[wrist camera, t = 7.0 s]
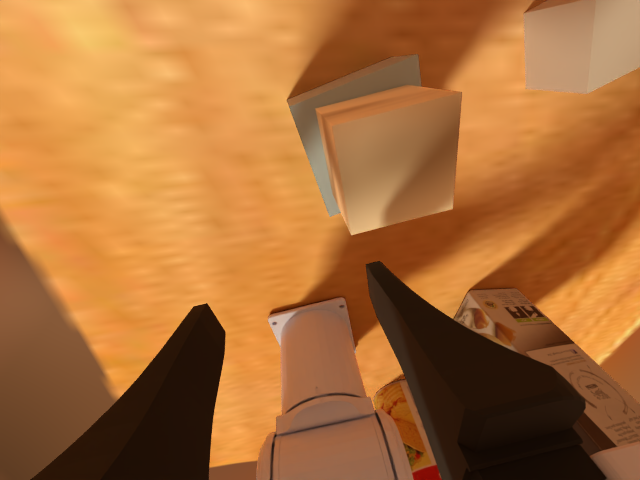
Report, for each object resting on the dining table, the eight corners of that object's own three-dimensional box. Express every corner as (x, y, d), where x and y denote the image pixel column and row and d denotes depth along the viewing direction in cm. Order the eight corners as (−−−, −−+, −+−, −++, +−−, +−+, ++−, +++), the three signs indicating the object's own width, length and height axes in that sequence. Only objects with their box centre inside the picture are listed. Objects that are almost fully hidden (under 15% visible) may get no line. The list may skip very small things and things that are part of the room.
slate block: (406, 161, 21) (431, 178, 17) (321, 193, 21) (329, 216, 18) (389, 57, 17) (418, 54, 13) (286, 99, 17) (289, 106, 14)
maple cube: (408, 174, 17) (452, 208, 13) (332, 193, 17) (351, 235, 13) (406, 84, 14) (462, 92, 10) (315, 108, 14) (331, 125, 10)
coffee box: (466, 288, 29) (628, 476, 16) (517, 286, 30) (710, 461, 17) (439, 342, 34) (546, 521, 21) (484, 339, 35) (613, 508, 22)
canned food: (365, 407, 40) (394, 519, 30) (387, 377, 37) (429, 493, 27) (408, 408, 43) (449, 512, 33) (434, 380, 39) (489, 488, 29)
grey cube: (590, 54, 18) (672, 50, 14) (525, 88, 19) (587, 93, 15) (598, -30, 16) (699, -60, 12) (522, 13, 16) (596, -4, 13)
